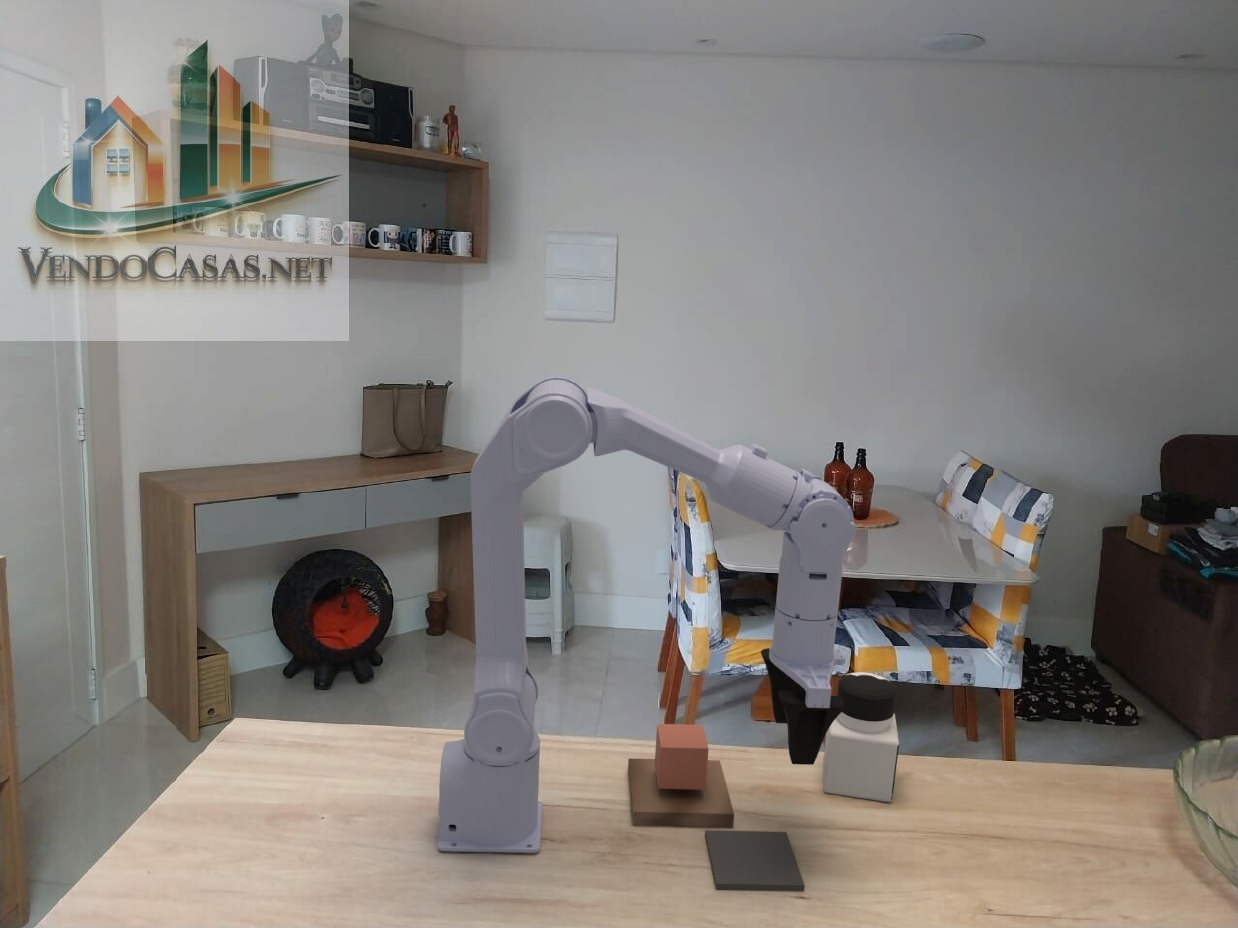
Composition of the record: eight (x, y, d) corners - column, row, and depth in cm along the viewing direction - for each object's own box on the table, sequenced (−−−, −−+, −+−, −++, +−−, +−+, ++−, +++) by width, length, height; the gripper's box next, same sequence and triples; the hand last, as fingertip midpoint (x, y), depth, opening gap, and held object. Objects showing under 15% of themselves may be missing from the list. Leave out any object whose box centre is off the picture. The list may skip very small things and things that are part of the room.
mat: (715, 889, 87) (716, 883, 87) (704, 835, 95) (705, 830, 95) (804, 890, 88) (804, 884, 87) (785, 837, 95) (786, 831, 95)
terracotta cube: (658, 788, 98) (660, 747, 97) (654, 763, 103) (657, 723, 102) (705, 789, 98) (708, 748, 97) (699, 764, 103) (702, 724, 102)
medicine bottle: (892, 804, 102) (905, 699, 99) (823, 793, 103) (834, 690, 101) (888, 769, 109) (900, 670, 106) (823, 759, 110) (833, 661, 107)
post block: (632, 825, 96) (636, 765, 95) (627, 770, 106) (630, 716, 104) (732, 826, 97) (737, 768, 95) (718, 772, 106) (723, 718, 105)
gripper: (871, 642, 83) (854, 783, 87) (829, 583, 98) (816, 706, 101) (790, 639, 83) (776, 781, 86) (760, 580, 97) (749, 704, 100)
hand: (793, 741), depth 93 cm, fingers open, 7 cm apart
